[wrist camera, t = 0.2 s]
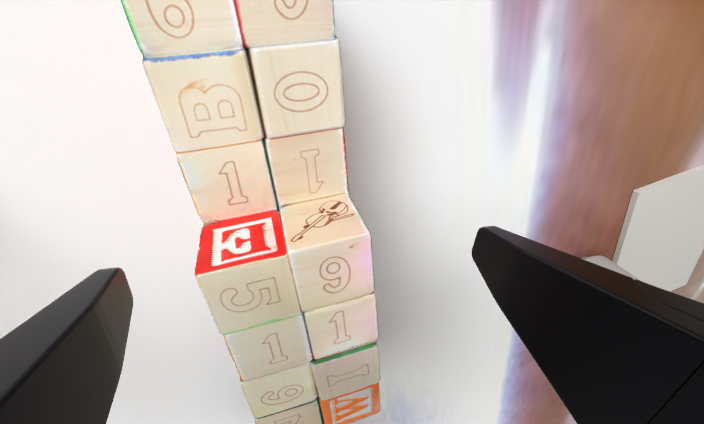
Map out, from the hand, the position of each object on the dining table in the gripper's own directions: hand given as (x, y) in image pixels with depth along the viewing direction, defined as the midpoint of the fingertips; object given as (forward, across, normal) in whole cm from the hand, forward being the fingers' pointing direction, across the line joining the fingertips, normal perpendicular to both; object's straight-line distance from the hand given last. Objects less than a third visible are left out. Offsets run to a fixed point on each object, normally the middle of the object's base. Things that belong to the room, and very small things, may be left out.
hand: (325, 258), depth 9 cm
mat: (+14, -44, +16) cm, 49 cm away
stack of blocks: (+15, 0, +3) cm, 15 cm away
